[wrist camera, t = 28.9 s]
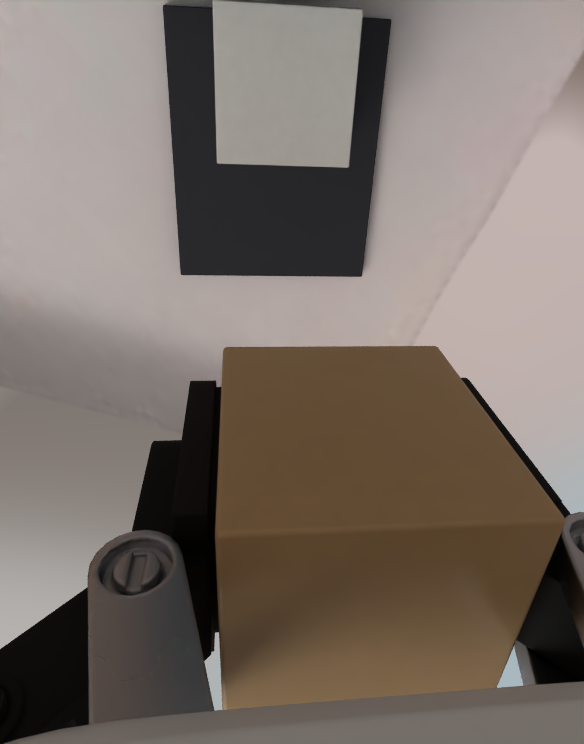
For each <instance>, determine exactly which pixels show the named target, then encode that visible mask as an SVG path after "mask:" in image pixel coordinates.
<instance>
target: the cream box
mask: <svg viewBox="0 0 584 744" xmlns="http://www.w3.org/2000/svg"><path fill="white" fill-rule="evenodd" d="M362 19H363V9H357V8H341V7H325V6H310V5H294V4H278V3H263V2H247V1H231V0H213V38H214V75H215V111H216V148H217V163H218V164H248V165H280V166H312V167H343V168H348V167H349V160H350V149H351V138H352V127H353V116H354V105H355V94H356V84H357V73H358V62H359V51H360V40H361V29H362Z"/></svg>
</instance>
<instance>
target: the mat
mask: <svg viewBox="0 0 584 744" xmlns="http://www.w3.org/2000/svg"><path fill="white" fill-rule="evenodd" d="M163 14H164V29H165V44H166V59H167V74H168V89H169V104H170V119H171V134H172V149H173V164H174V179H175V194H176V209H177V224H178V239H179V254H180V269H181V275H240V276H347V277H361V276H362V270H363V262H364V253H365V244H366V236H367V227H368V218H369V210H370V201H371V192H372V184H373V175H374V166H375V158H376V149H377V140H378V132H379V123H380V114H381V106H382V97H383V88H384V80H385V71H386V62H387V54H388V45H389V36H390V28H391V19H380V18H364V17H363V19H362V29H361V40H360V51H359V62H358V73H357V84H356V94H355V105H354V116H353V127H352V138H351V149H350V160H349V167H348V168H343V167H312V166H280V165H248V164H218V163H217V148H216V111H215V75H214V38H213V8H203V7H187V6H170V5H164V6H163Z"/></svg>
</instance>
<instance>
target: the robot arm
mask: <svg viewBox="0 0 584 744" xmlns="http://www.w3.org/2000/svg"><path fill="white" fill-rule="evenodd" d="M461 379H462V381H463V382H464V383H465V385H466V386H467V387H468V389H469V390H470V391H471V393H472V394H473V395H474V397H475V398H476V399H477V401H478V402H479V403H480V405H481V406H482V407H483V409H484V410H485V412H486V413H487V414H488V416H489V417H490V418H491V420H492V421H493V422H494V424H495V425H496V426H497V428H498V429H499V430H500V432H501V433H502V434H503V436H504V437H505V438H506V440H507V441H508V442H509V444H510V445H511V446H512V448H513V449H514V450H515V452H516V453H517V454H518V456H519V457H520V459H521V460H522V461H523V463H524V464H525V465H526V467H527V468H528V469H529V471H530V472H531V473H532V475H533V476H534V477H535V479H536V480H537V481H538V483H539V484H540V485H541V487H542V488H543V489H544V491H545V492H546V493H547V495H548V496H549V497H550V499H551V500H552V501H553V503H554V504H555V506H556V507H557V508H558V510H559V511H560V512H561V514H562V515H563V516H564V519H565V525H564V527H563V530H562V532H561V534H560V537H559V539H558V542H557V544H556V546H555V549H554V551H553V554H552V556H551V558H550V561H549V563H548V565H547V568H546V570H545V573H544V575H543V577H542V580H541V582H540V585H539V587H538V589H537V592H536V594H535V597H534V599H533V601H532V604H531V606H530V609H529V611H528V613H527V616H526V618H525V621H524V623H523V625H522V628H521V630H520V632H519V635H518V637H517V640H516V642H515V644H514V645H515V652H516V656H517V660H518V664H519V668H520V673H521V677H522V680H523V685H524V686H516V687H502V688H489V689H476V690H463V691H450V692H437V693H424V694H411V695H398V696H386V697H373V698H361V699H349V700H337V701H324V702H312V703H300V704H288V705H276V706H264V707H252V708H240V709H228V710H217V711H214V707H213V702H212V698H211V692H210V688H209V682H208V678H207V673H206V668H205V663H204V661H205V660H206V659H207V658H208V657H209V656H210V655H211V652H212V651H214V639H215V632H219V616H218V593H217V570H216V547H215V523H216V500H217V477H218V455H219V432H220V409H221V387H216V381H190V387H189V394H188V401H187V408H186V414H185V421H184V428H183V435H182V440H177V441H176V440H175V441H154V442H153V443H152V445H151V449H150V454H149V458H148V463H147V467H146V471H145V476H144V481H143V484H142V489H141V493H140V498H139V503H138V507H137V511H136V515H135V520H134V524H133V529H132V532H129V533H126V534H123V535H120V536H118V537H116V538H114V539H113V540H111V541H109V542H108V543H106V544H105V545H104V546H103V547H102V548H101V549H100V550H99V551H98V552H97V553H96V555H95V556H94V558H93V560H92V561H91V563H90V566H89V572H88V587H87V588H86V589H85V590H83V591H82V592H80V593H79V594H78V595H76V596H75V597H74V598H72V599H70V600H69V601H68V602H66V603H65V604H63V605H62V606H61V607H59V608H58V609H56V610H55V611H54V612H52V613H51V614H49V615H48V616H47V617H45V618H44V619H42V620H41V621H39V622H38V623H37V624H35V625H34V626H33V627H31V628H30V629H28V630H27V631H25V632H24V633H22V634H21V635H20V636H18V637H17V638H15V639H14V640H13V641H11V642H10V643H9V644H7V645H5V646H4V647H3V648H1V649H0V744H584V513H583V512H578V513H574V514H570V512H569V511H568V510H567V509H566V507H565V506H564V505H563V503H562V501H561V499H560V498H559V497H558V495H557V494H556V493H555V491H554V490H553V489H552V487H551V486H550V485H549V484H548V483H547V481H546V480H545V478H544V477H543V476H542V474H541V473H540V472H539V471H538V469H537V468H536V467H535V465H534V464H533V463H532V461H531V460H530V459H529V457H528V456H527V455H526V454H525V452H524V451H523V450H522V448H521V447H520V446H519V444H518V443H517V442H516V441H515V439H514V438H513V437H512V435H511V434H510V433H509V431H508V430H507V429H506V427H505V426H504V425H503V424H502V422H501V421H500V420H499V418H498V417H497V416H496V415H495V413H494V412H493V411H492V409H491V408H490V407H489V405H488V404H487V403H486V402H485V400H484V399H483V398H482V396H481V395H480V394H479V392H478V391H477V390H476V388H475V387H474V386H473V385H472V383H471V382H470V381H469V380H468V379H467V378H461Z"/></svg>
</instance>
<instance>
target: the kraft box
mask: <svg viewBox="0 0 584 744" xmlns="http://www.w3.org/2000/svg"><path fill="white" fill-rule="evenodd" d="M564 525H565V519H564V516H563V515H562V514H561V512H560V511H559V510H558V508H557V507H556V506H555V504H554V503H553V501H552V500H551V499H550V497H549V496H548V495H547V493H546V492H545V491H544V489H543V488H542V487H541V485H540V484H539V483H538V481H537V480H536V479H535V477H534V476H533V475H532V473H531V472H530V471H529V469H528V468H527V467H526V465H525V464H524V463H523V461H522V460H521V459H520V457H519V456H518V454H517V453H516V452H515V450H514V449H513V448H512V446H511V445H510V444H509V442H508V441H507V440H506V438H505V437H504V436H503V434H502V433H501V432H500V430H499V429H498V428H497V426H496V425H495V424H494V422H493V421H492V420H491V418H490V417H489V416H488V414H487V413H486V412H485V410H484V409H483V407H482V406H481V405H480V403H479V402H478V401H477V399H476V398H475V397H474V395H473V394H472V393H471V391H470V390H469V389H468V387H467V386H466V385H465V383H464V382H463V381H462V379H461V378H460V377H459V375H458V374H457V373H456V371H455V370H454V369H453V367H452V366H451V365H450V363H449V362H448V361H447V359H446V358H445V356H444V355H443V354H442V352H441V351H440V350H439V349H438V347H436V346H362V347H226V348H224V350H223V364H222V387H221V409H220V432H219V455H218V477H217V500H216V523H215V547H216V570H217V593H218V616H219V638H220V661H221V684H222V707H223V710H228V709H240V708H252V707H264V706H276V705H288V704H300V703H312V702H324V701H337V700H349V699H361V698H373V697H386V696H398V695H411V694H424V693H437V692H450V691H463V690H476V689H489V688H497V685H498V683H499V680H500V678H501V676H502V673H503V671H504V668H505V666H506V664H507V661H508V659H509V656H510V654H511V651H512V649H513V647H514V644H515V642H516V640H517V637H518V635H519V632H520V630H521V628H522V625H523V623H524V621H525V618H526V616H527V613H528V611H529V609H530V606H531V604H532V601H533V599H534V597H535V594H536V592H537V589H538V587H539V585H540V582H541V580H542V577H543V575H544V573H545V570H546V568H547V565H548V563H549V561H550V558H551V556H552V554H553V551H554V549H555V546H556V544H557V542H558V539H559V537H560V534H561V532H562V530H563V527H564Z"/></svg>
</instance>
